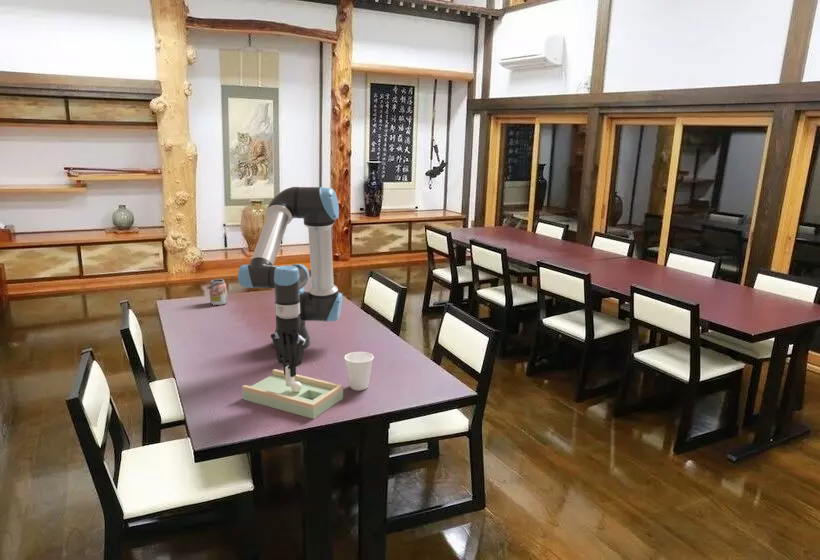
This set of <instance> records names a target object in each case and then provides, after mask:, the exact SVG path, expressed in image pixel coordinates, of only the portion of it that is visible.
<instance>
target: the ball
mask: <svg viewBox="0 0 820 560" xmlns="http://www.w3.org/2000/svg"><path fill="white" fill-rule="evenodd" d="M301 389H302V384H301V383H300V382H298V381H295V382H293V383H292V385H291V390H292V391H293V392H299V391H300V390H301Z"/></svg>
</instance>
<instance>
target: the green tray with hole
mask: <svg viewBox="0 0 820 560" xmlns="http://www.w3.org/2000/svg"><path fill="white" fill-rule="evenodd" d="M295 381H298V382H300V383H301V384H302V389H301V390H300V391H299V392H293V391H292V390H291V386H290V387H288V386H286V375H284V370H280V369H276V368H274V369H272V374H271V375H269V376H267V377H265V378H264V379H261V380H260V381H258V382H256V383H254V384H252V385H247V384H244V385H242V399H243V400H244V401H248V402H250V403H255V404H258V405H262V406H265V407H269V408H273V409H277V410H280V411H284V412H287V413H291V414H295V415H299V416H301V417H306V418H309V419H316V418H318V417H319V416H320V415H322V414H323V413H324V412H326V411H327V410H329V409H330V408H332V407H333V406H335V405H336V404H337V403H339V402H341V401H342V400H343V399H344V385H343V384H338V383H334V382H330V381H327V380H322V379H318V378H314V377H310V376H306V375H301V374H297V373H296V376H295Z"/></svg>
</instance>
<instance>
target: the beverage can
mask: <svg viewBox="0 0 820 560" xmlns="http://www.w3.org/2000/svg"><path fill="white" fill-rule="evenodd" d="M206 290H208V291H209V301H210V304H211V305H212V304H214V305H221V306H224V305H223V304H225V305H226V304H228V291H227V284H226V282H225V280H224V279H223V278H217V279H212V280H210V284H209V285H208V286H207V287H206ZM214 305H213V306H214Z"/></svg>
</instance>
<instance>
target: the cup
mask: <svg viewBox="0 0 820 560" xmlns="http://www.w3.org/2000/svg"><path fill="white" fill-rule="evenodd" d="M374 358H375V357H374V355H373V354H372V353H371V352H367V351H366V352H365V351H354V352H349V353H347V354H345V356H344V357H343V359H344V360H345V365H346V373H347V376H348V383H349V387H350V389H352V390H353V391H363V390H366V389H368V387H369V383H370V377H371V372H372V365H373V360H374Z"/></svg>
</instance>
